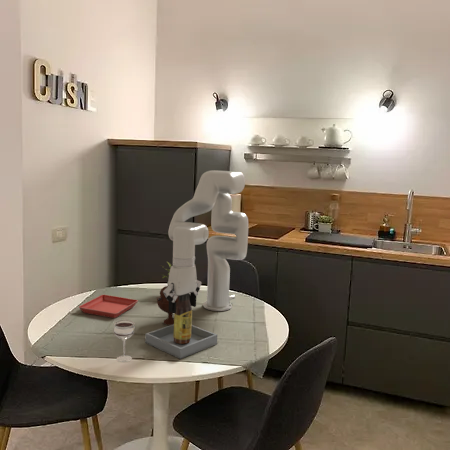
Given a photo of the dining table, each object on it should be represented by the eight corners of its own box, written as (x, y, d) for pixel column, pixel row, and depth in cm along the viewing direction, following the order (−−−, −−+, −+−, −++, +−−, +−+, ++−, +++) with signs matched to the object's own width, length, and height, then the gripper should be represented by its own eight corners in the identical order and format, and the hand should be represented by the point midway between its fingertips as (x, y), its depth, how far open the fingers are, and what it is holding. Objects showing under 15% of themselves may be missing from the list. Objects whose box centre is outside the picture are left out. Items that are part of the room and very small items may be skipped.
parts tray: (182, 329, 185) (182, 321, 185) (217, 343, 174) (217, 334, 173) (145, 343, 172) (145, 333, 171) (180, 359, 160) (180, 349, 160)
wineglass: (138, 360, 158) (138, 325, 156) (118, 364, 154) (118, 329, 152) (129, 352, 164) (129, 318, 162) (110, 356, 160) (110, 322, 158)
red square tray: (116, 321, 193) (116, 313, 192) (77, 314, 199) (77, 306, 198) (138, 307, 210) (138, 300, 209) (102, 301, 215) (102, 294, 215)
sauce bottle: (183, 346, 169) (185, 291, 165) (169, 342, 172) (170, 288, 169) (194, 340, 174) (196, 287, 171) (181, 336, 178) (182, 283, 174)
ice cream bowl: (179, 328, 186) (180, 291, 184) (152, 325, 189) (152, 288, 186) (187, 319, 197) (188, 283, 194) (161, 316, 199) (161, 280, 196)
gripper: (193, 256, 177) (192, 301, 180) (157, 263, 164) (156, 312, 167) (208, 259, 172) (207, 306, 175) (172, 268, 159) (171, 317, 162)
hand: (182, 309), depth 171 cm, fingers open, 9 cm apart
